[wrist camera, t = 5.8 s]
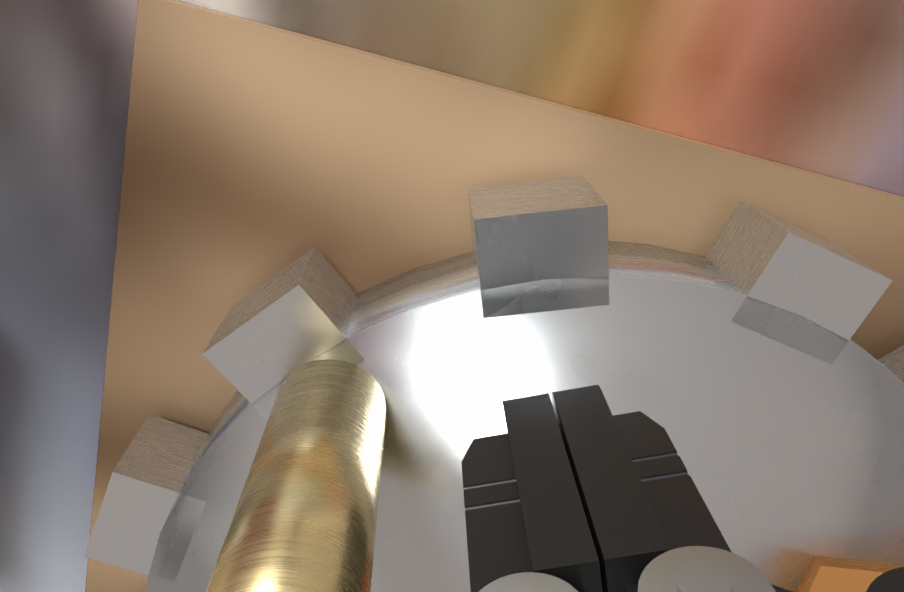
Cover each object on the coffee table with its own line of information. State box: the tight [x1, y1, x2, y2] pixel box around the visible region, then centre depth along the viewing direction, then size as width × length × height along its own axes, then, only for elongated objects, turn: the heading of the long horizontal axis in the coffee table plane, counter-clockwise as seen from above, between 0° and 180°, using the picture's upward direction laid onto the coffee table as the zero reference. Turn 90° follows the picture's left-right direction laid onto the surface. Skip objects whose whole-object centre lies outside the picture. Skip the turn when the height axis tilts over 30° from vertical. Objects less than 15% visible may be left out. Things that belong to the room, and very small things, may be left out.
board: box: [85, 0, 904, 592], centre depth 18 cm, size 22×22×1 cm
